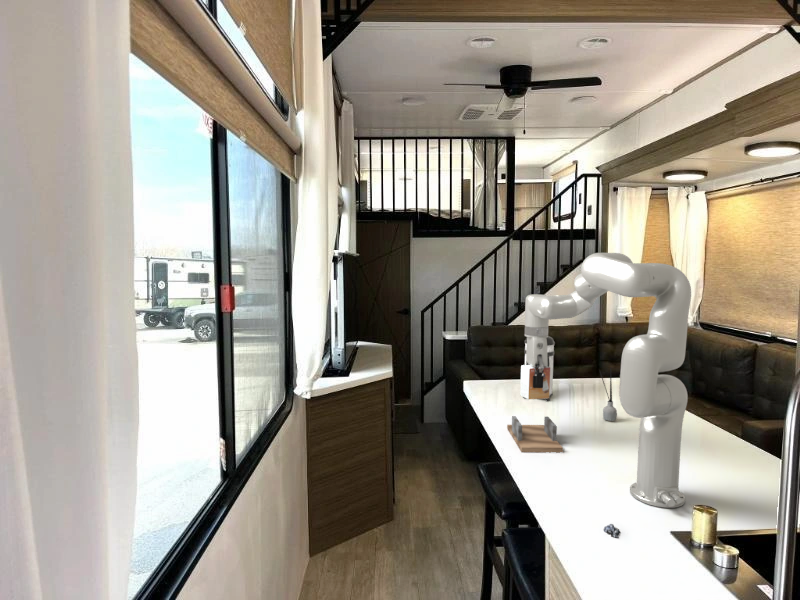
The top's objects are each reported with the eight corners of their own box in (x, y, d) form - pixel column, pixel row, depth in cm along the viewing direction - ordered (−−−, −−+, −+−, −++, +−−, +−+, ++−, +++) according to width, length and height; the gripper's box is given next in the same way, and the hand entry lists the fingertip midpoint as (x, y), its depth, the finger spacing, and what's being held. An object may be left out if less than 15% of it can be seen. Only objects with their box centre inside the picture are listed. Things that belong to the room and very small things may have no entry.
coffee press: (512, 394, 227) (513, 328, 224) (542, 391, 232) (544, 326, 229) (533, 404, 210) (535, 333, 208) (566, 401, 215) (568, 332, 213)
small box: (528, 400, 164) (529, 368, 163) (519, 395, 170) (520, 364, 169) (549, 398, 166) (550, 367, 166) (540, 394, 172) (541, 363, 171)
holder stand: (562, 452, 158) (563, 432, 158) (521, 452, 158) (521, 432, 158) (543, 429, 180) (544, 411, 180) (507, 428, 180) (507, 410, 180)
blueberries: (623, 527, 116) (623, 519, 116) (637, 544, 108) (637, 535, 108) (593, 526, 116) (593, 518, 116) (605, 543, 108) (605, 534, 108)
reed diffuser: (616, 425, 185) (619, 371, 183) (596, 422, 188) (598, 369, 186) (616, 417, 194) (618, 366, 193) (597, 415, 197) (599, 364, 195)
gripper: (555, 335, 158) (553, 391, 159) (540, 328, 175) (539, 378, 176) (531, 335, 158) (530, 391, 159) (519, 328, 175) (517, 378, 176)
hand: (534, 384), depth 168 cm, fingers closed on small box, 6 cm apart
